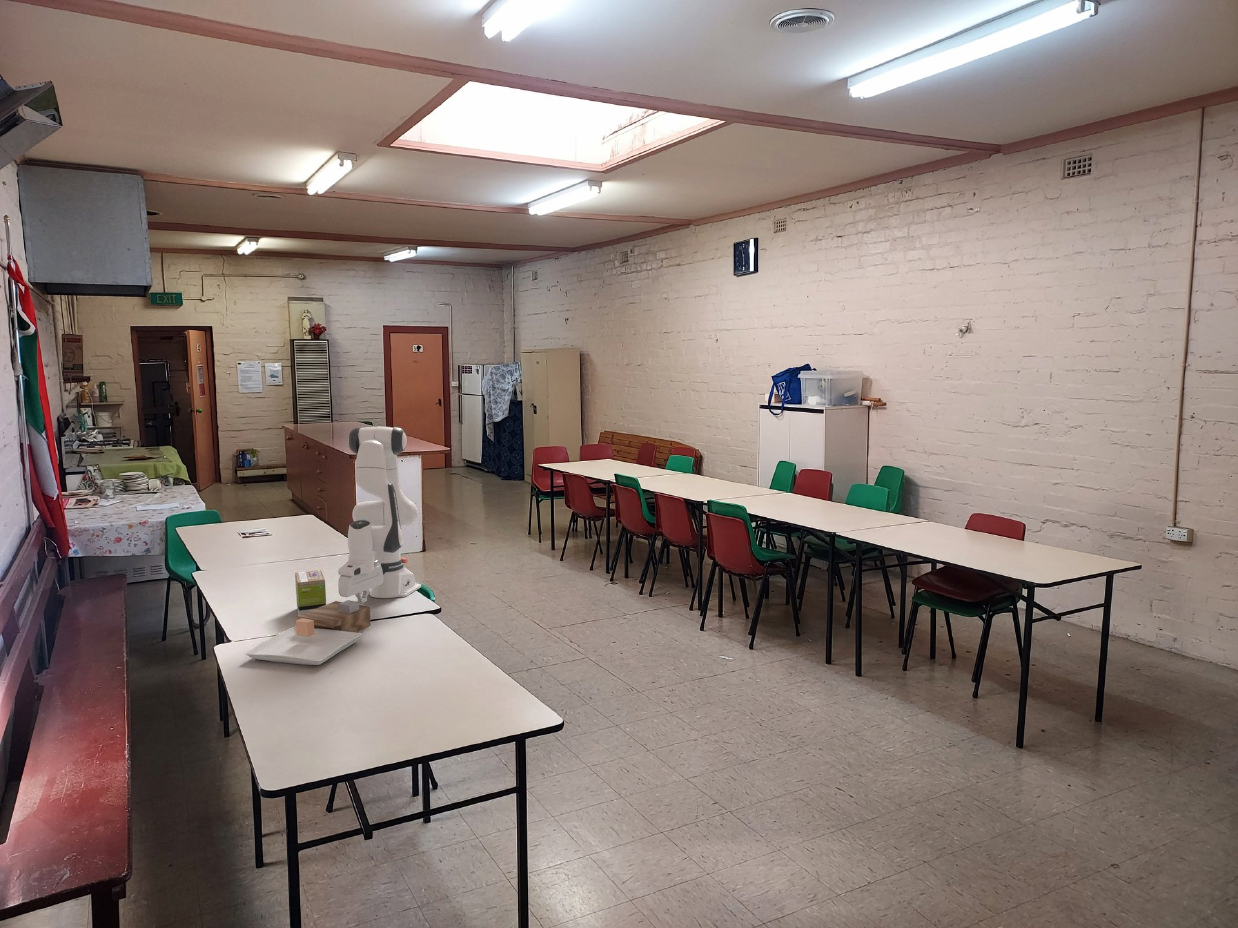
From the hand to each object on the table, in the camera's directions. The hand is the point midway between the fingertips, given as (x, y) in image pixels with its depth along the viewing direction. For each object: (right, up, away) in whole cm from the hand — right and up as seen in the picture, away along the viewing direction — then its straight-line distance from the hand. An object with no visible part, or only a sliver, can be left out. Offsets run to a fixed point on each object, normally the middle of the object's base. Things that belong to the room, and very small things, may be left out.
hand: (362, 602), depth 298 cm
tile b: (-3, -2, -6) cm, 7 cm away
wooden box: (-8, -9, -6) cm, 13 cm away
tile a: (-12, -5, -19) cm, 24 cm away
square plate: (-10, -12, -26) cm, 31 cm away
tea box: (-24, -6, +13) cm, 28 cm away
